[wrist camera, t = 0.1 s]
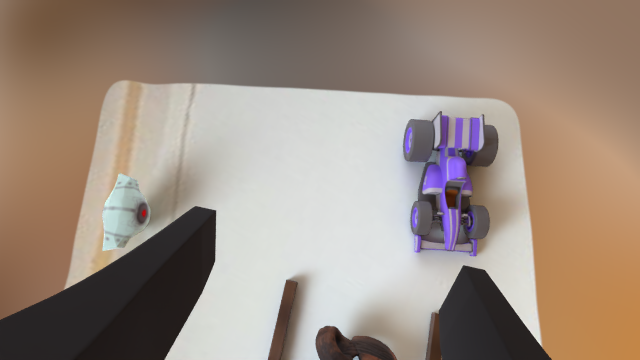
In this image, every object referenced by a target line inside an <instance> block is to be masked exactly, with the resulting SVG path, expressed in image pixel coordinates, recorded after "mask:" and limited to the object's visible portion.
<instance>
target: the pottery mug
mask: <svg viewBox="0 0 640 360" xmlns="http://www.w3.org/2000/svg"><path fill="white" fill-rule="evenodd" d="M316 349H317V353H318V356H319V358H320V360H353V358H354V357H356V356H358V357H359V360H397V359H396V357H395V355H394V353H393V352H392V351H391V350H390V349H389V348H388V347H387V346H386V345H385V344H383V343H382V342H381V341H379V340H376V339H374V338H371V337H367V336H356V337H353V339H352V341H350V340H349V339H347V338H345V337H344V336H343V335H342V334H341V332H340V331H339V330H338V329H337V328H336V327H334V326H325V327H324V328H321V329H320V330H319V331H318V334H317V337H316Z"/></svg>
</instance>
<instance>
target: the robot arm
mask: <svg viewBox="0 0 640 360" xmlns="http://www.w3.org/2000/svg"><path fill="white" fill-rule="evenodd" d="M215 244H216V210H211V209H207V208H202V207H198V206H195V207H193V208H192V209H190V210H189V211H188V212H186V213H185V214H183V215H182V216H181V217H179V218H178V219H176V220H175V221H174V222H172V223H171V224H170V225H168V226H167V227H165V228H164V229H163V230H161V231H160V232H158V233H157V234H155V235H154V236H153V237H151V238H150V239H148V240H147V241H145V242H144V243H142V244H141V245H139V246H138V247H136V248H135V249H133V250H132V251H130V252H129V253H127V254H126V255H124V256H122V257H121V258H119V259H118V260H116V261H114V262H113V263H111V264H109V265H108V266H106V267H105V268H103V269H101V270H100V271H98V272H96V273H94V274H93V275H91V276H89V277H87V278H86V279H84V280H82V281H80V282H78V283H77V284H75V285H73V286H71V287H69V288H67V289H65V290H63V291H61V292H60V293H58V294H56V295H54V296H51V297H50V298H47V299H45V300H43V301H41V302H39V303H36V304H34V305H32V306H30V307H28V308H25V309H23V310H21V311H19V312H17V313H15V314H12V315H10V316H8V317H6V318H3V319H1V320H0V360H164V359H165V358H166V356H167V354H168V352H169V351H170V349H171V347H172V345H173V343H174V342H175V340H176V338H177V336H178V335H179V333H180V331H181V329H182V328H183V326H184V324H185V322H186V321H187V319H188V317H189V315H190V313H191V312H192V310H193V308H194V306H195V304H196V303H197V301H198V299H199V297H200V295H201V294H202V292H203V289H204V287H205V285H206V282H207V280H208V278H209V275H210V273H211V270H212V268H213V265H214V263H215ZM439 334H440V349H441V356H442V360H552V359H551V358H550V357H549V356H548V354H547V353H546V352H545V351H544V349H543V348H542V347H541V346H540V344H539V343H538V342H537V340H536V339H535V338H534V336H533V335H532V334H531V332H530V331H529V330H528V328H527V327H526V326H525V324H524V323H523V322H522V320H521V319H520V318H519V316H518V315H517V314H516V312H515V311H514V309H513V308H512V307H511V305H510V304H509V303H508V301H507V300H506V298H505V297H504V296H503V294H502V293H501V291H500V290H499V289H498V287H497V286H496V284H495V283H494V282H493V280H492V279H491V278H490V276H489V275H488V274H487V272H486V271H485V270H482V269H478V268H473V267H469V266H464V265H463V267H462V269H461V271H460V272H459V274H458V276H457V278H456V280H455V282H454V284H453V286H452V288H451V289H450V291H449V293H448V295H447V297H446V299H445V301H444V303H443V305H442V306H441V308H440V310H439Z"/></svg>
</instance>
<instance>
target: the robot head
mask: <svg viewBox="0 0 640 360" xmlns="http://www.w3.org/2000/svg"><path fill="white" fill-rule="evenodd" d="M102 218H103V225H104V242H103V251H105V250H111V249H117V248H123V247H125V245H126V244H127V242H128V240H129V239H130V238H132V237H133V236H135V235H137V234H138V233H140V232H141V231H143V229H144V228H145V227H146V226H147V225H148V223H149V219H150V207H149V205H148V203H147V201H146V199H145V197H144V196H143V195H142V193H141V192H140V190H139V186H138V181H137V180H135V179H133V178H131V177H128V176H126V175H123V174H120V173H119V176H118V179H117V182H116V185H115V187H114V189H113V191H112V193H111V195H110V196H109V198H108V199H107V201H106V202H105V205H104V209H103V215H102Z"/></svg>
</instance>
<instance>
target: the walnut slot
mask: <svg viewBox="0 0 640 360" xmlns="http://www.w3.org/2000/svg"><path fill="white" fill-rule="evenodd" d="M296 286H297V282H295V281H290V280H286V283H285V287H284V292H283V296H282V300H281V305H280V309H279V313H278V318H277V322H276V326H275V331H274V335H273V339H272V344H271V348H270V352H269V356H268V360H280V358H281V353H282V349H283V344H284V340H285V335H286V331H287V327H288V322H289V318H290V313H291V309H292V304H293V300H294V295H295V291H296ZM426 360H441V349H440V334H439V314H437V313H433V312H432V315H431V323H430V331H429V338H428V346H427V354H426Z"/></svg>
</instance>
